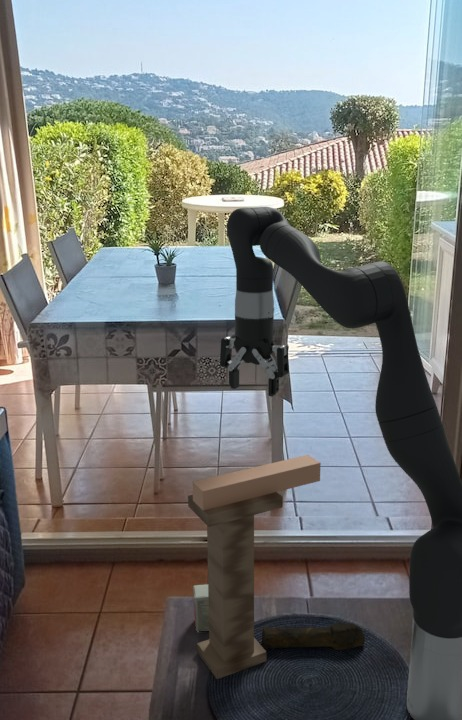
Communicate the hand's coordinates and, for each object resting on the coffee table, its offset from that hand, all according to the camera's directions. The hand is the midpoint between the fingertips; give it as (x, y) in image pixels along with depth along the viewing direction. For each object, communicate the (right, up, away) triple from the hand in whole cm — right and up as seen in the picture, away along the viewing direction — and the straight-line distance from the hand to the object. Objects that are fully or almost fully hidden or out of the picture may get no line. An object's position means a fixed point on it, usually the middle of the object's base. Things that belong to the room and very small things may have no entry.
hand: (253, 391), depth 146 cm
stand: (-4, -48, -13) cm, 50 cm away
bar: (0, -16, -20) cm, 25 cm away
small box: (-9, -45, -4) cm, 46 cm away
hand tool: (+11, -47, -9) cm, 49 cm away
